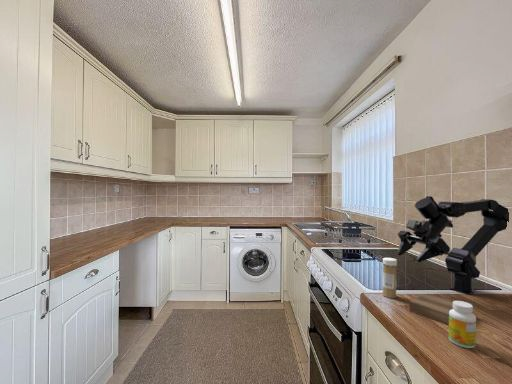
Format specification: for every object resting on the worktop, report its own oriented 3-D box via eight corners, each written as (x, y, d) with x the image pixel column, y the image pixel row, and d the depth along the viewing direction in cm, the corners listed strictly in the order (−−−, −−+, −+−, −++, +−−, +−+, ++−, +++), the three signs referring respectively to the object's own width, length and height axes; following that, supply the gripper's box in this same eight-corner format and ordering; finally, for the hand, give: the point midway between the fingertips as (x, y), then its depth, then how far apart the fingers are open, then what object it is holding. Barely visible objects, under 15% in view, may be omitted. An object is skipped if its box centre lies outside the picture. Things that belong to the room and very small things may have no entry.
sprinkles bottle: (398, 296, 94) (399, 259, 94) (391, 299, 92) (392, 261, 92) (386, 292, 98) (387, 256, 98) (379, 295, 95) (380, 258, 95)
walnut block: (427, 302, 90) (427, 293, 90) (470, 316, 80) (471, 306, 80) (409, 310, 83) (409, 301, 83) (454, 327, 73) (454, 316, 73)
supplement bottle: (443, 336, 68) (443, 299, 68) (462, 336, 69) (463, 299, 69) (461, 349, 63) (461, 308, 63) (481, 348, 63) (482, 308, 63)
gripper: (402, 210, 106) (377, 238, 104) (443, 214, 88) (414, 248, 86) (418, 229, 108) (394, 257, 106) (462, 237, 90) (434, 271, 87)
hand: (407, 258), depth 96 cm, fingers open, 9 cm apart
